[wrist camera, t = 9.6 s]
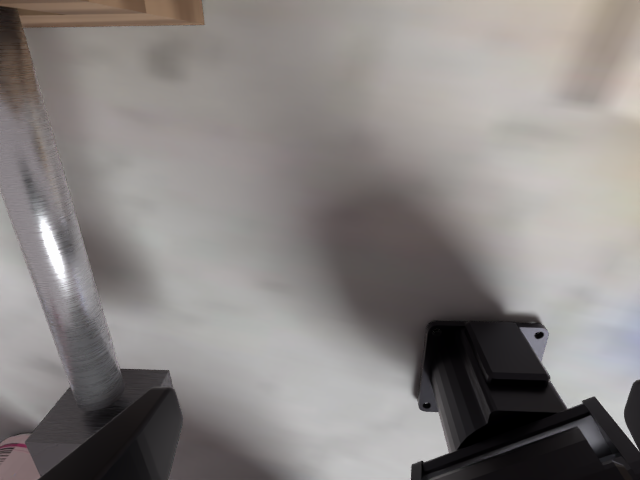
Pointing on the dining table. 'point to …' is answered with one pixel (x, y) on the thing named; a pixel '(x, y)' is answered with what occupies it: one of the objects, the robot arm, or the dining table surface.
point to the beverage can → (17, 459)
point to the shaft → (57, 262)
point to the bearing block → (106, 12)
